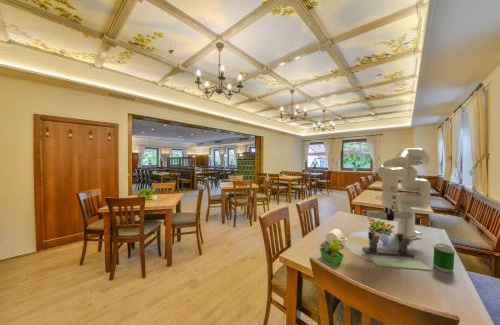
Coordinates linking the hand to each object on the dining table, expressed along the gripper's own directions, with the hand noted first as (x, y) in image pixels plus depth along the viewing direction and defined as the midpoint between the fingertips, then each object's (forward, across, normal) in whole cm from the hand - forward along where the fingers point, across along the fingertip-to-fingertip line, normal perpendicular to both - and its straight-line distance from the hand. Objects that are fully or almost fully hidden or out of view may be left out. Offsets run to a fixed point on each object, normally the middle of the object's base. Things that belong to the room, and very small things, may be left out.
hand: (388, 219), depth 117 cm
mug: (+21, +9, +26) cm, 35 cm away
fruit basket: (+21, -14, +35) cm, 43 cm away
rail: (-1, 0, 0) cm, 1 cm away
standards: (+21, 0, 0) cm, 21 cm away
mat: (+21, -12, 0) cm, 24 cm away
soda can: (+21, -13, -20) cm, 32 cm away
